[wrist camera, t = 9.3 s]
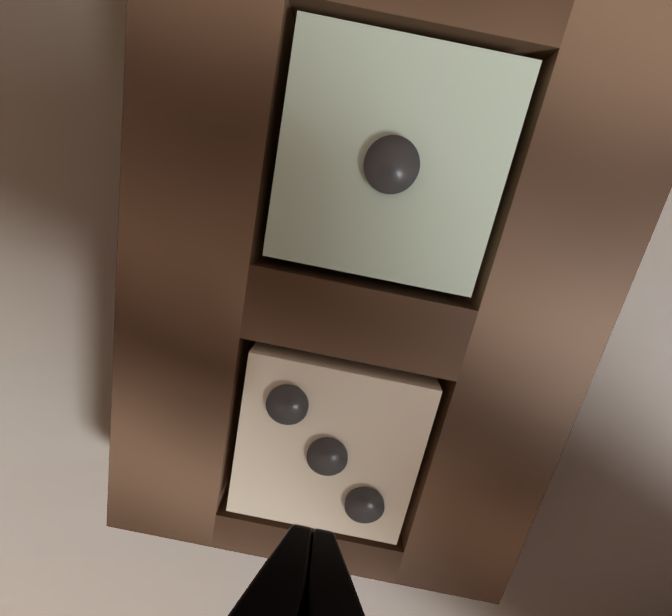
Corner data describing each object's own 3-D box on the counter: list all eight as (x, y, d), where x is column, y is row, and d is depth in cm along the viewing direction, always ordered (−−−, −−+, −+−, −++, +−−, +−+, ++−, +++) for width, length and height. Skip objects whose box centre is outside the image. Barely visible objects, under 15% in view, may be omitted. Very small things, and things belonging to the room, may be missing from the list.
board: (474, 535, 14) (498, 604, 12) (148, 470, 14) (106, 525, 12) (804, -362, 8) (1000, -607, 5) (217, -484, 8) (157, -785, 5)
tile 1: (451, 280, 11) (473, 299, 9) (278, 245, 11) (260, 256, 9) (505, 87, 10) (545, 57, 8) (309, 46, 10) (296, 7, 8)
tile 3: (390, 494, 13) (396, 549, 11) (245, 465, 13) (224, 514, 11) (428, 360, 12) (443, 394, 10) (266, 327, 12) (246, 354, 10)
